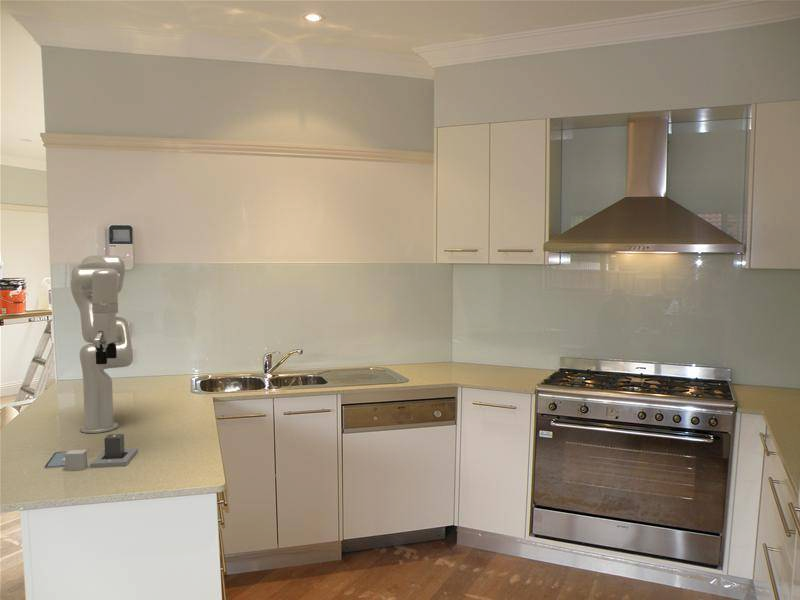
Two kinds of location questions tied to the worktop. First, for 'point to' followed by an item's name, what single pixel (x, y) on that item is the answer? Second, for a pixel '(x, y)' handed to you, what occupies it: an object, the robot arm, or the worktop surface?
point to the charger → (114, 446)
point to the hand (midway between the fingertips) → (106, 361)
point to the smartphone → (56, 460)
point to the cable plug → (75, 460)
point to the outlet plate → (103, 462)
